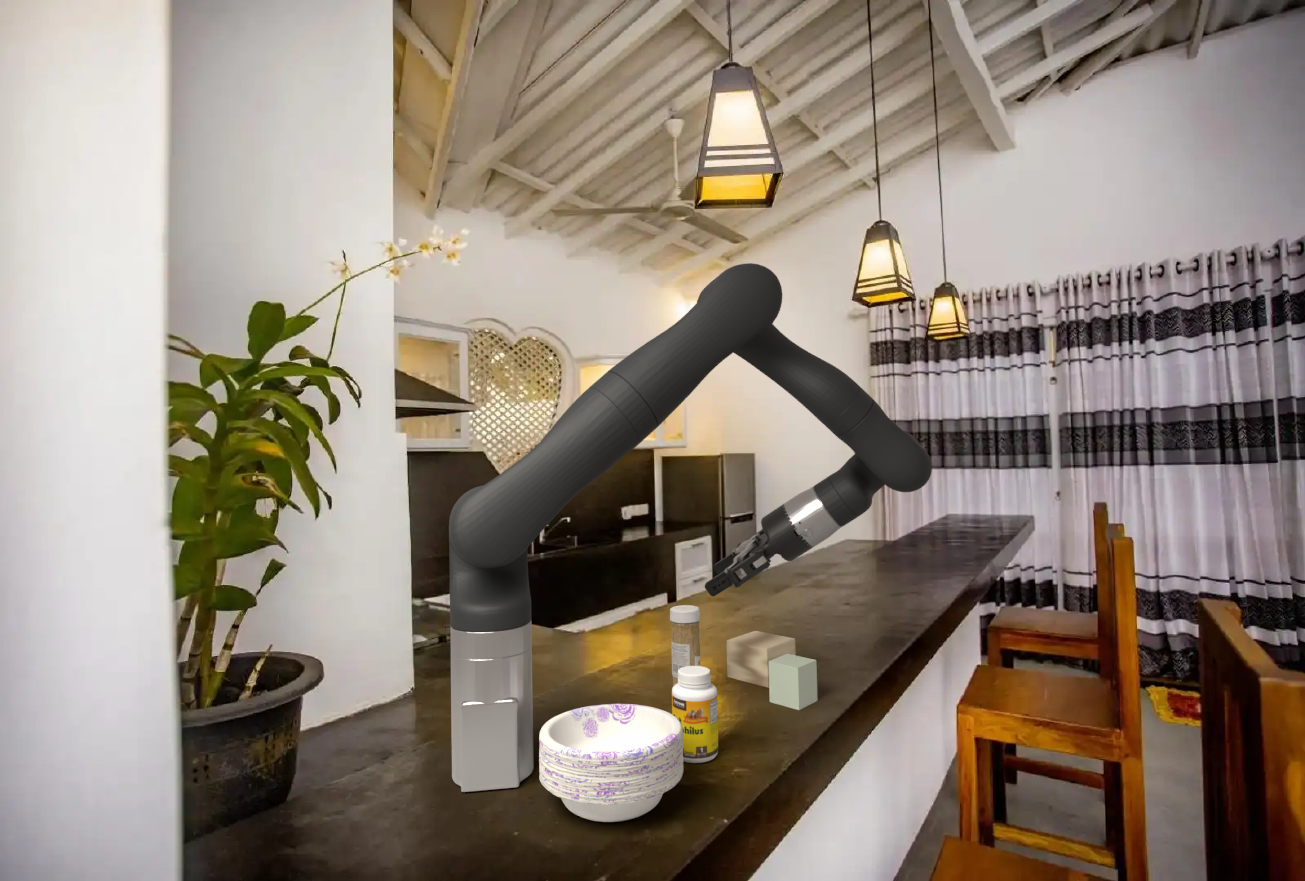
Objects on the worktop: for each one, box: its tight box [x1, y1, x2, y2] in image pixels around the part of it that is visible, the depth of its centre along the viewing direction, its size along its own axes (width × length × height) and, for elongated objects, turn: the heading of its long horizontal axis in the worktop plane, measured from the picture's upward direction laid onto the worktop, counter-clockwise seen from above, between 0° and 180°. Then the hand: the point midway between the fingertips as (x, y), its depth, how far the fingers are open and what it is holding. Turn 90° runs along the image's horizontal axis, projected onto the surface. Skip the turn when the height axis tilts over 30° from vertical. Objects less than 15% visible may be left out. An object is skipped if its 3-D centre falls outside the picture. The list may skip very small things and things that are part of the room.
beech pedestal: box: [726, 630, 797, 688], centre depth 112 cm, size 8×8×6 cm
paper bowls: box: [538, 703, 684, 823], centre depth 72 cm, size 15×15×8 cm
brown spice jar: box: [669, 604, 702, 688], centre depth 103 cm, size 5×5×13 cm
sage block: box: [768, 654, 818, 711], centre depth 100 cm, size 5×5×6 cm
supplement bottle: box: [671, 665, 719, 764], centre depth 83 cm, size 6×6×10 cm
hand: (712, 581), depth 104 cm, fingers open, 8 cm apart
